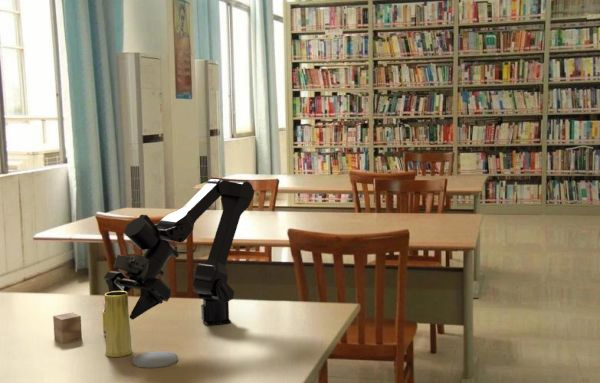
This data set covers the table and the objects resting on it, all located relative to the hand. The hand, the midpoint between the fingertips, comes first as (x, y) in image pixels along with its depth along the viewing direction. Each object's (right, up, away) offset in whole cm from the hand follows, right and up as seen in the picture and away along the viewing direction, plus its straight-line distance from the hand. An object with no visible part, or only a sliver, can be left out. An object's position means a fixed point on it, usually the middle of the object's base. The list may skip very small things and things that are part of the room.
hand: (118, 315), depth 174 cm
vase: (0, -9, +1) cm, 9 cm away
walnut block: (-16, -8, +13) cm, 22 cm away
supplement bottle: (-5, -8, +17) cm, 19 cm away
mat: (+10, -9, -5) cm, 14 cm away
